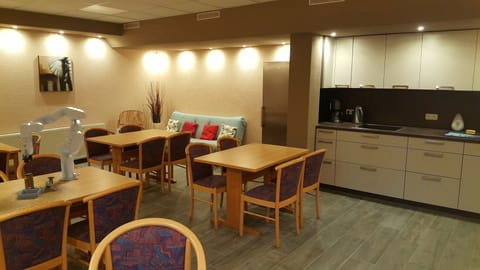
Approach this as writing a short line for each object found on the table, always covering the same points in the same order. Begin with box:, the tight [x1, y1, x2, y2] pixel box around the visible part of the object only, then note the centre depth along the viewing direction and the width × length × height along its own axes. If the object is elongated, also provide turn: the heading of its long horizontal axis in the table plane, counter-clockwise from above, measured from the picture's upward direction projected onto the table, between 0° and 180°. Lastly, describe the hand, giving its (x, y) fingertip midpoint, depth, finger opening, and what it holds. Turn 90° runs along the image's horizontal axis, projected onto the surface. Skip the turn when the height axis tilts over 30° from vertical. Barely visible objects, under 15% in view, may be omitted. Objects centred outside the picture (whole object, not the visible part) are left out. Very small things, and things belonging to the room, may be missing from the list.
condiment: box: [24, 172, 38, 190], centre depth 272 cm, size 7×8×12 cm
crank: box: [45, 176, 56, 188], centre depth 274 cm, size 13×5×6 cm, turn 16°
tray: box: [17, 188, 43, 200], centre depth 257 cm, size 13×12×3 cm
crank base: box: [28, 186, 59, 193], centre depth 268 cm, size 20×6×3 cm, turn 106°
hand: (28, 161), depth 270 cm, fingers open, 9 cm apart
